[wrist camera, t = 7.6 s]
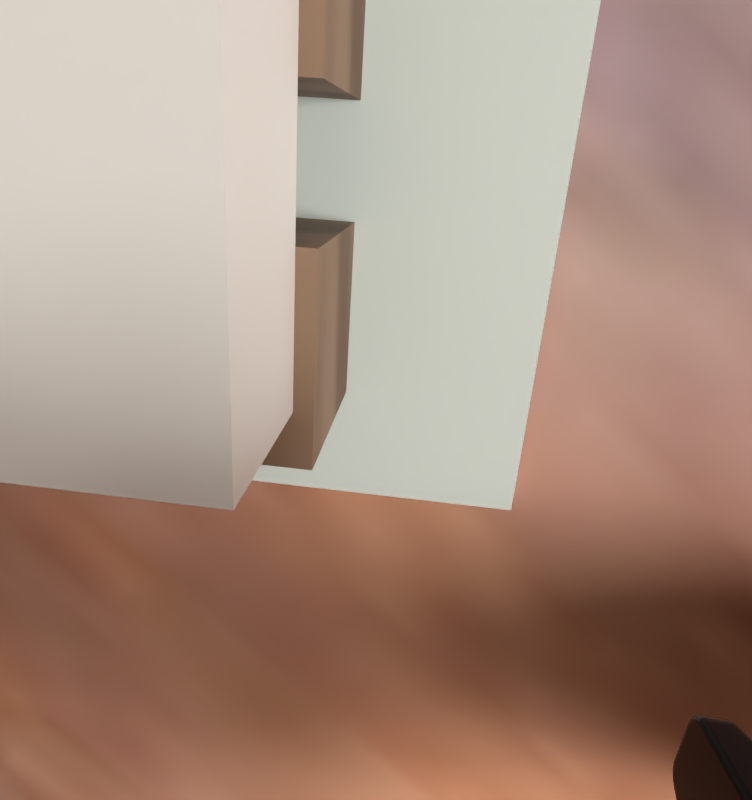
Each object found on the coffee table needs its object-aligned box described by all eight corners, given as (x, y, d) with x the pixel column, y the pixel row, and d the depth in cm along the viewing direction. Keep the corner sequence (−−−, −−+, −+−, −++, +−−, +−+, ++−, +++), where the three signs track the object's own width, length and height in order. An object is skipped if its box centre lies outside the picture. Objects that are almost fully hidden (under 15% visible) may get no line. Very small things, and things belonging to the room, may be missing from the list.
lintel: (301, -166, 10) (208, -364, 6) (292, 412, 13) (233, 510, 10) (60, -174, 10) (-169, -366, 6) (119, 393, 14) (-2, 481, 10)
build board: (656, -345, 12) (665, -369, 12) (509, 500, 20) (510, 510, 19) (-79, -350, 14) (-102, -371, 13) (47, 447, 21) (36, 455, 21)
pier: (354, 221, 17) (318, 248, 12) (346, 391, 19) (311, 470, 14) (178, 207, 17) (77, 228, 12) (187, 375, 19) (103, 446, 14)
